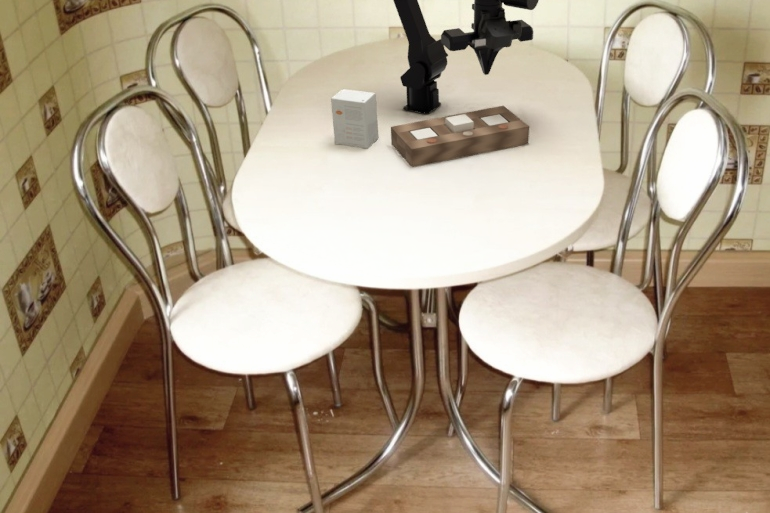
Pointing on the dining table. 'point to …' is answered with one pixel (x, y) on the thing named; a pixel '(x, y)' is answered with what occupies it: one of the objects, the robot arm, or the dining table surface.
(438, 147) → the key board
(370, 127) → the small box
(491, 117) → the key
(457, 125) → the key mid
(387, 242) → the dining table surface
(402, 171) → the dining table surface
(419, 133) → the key
